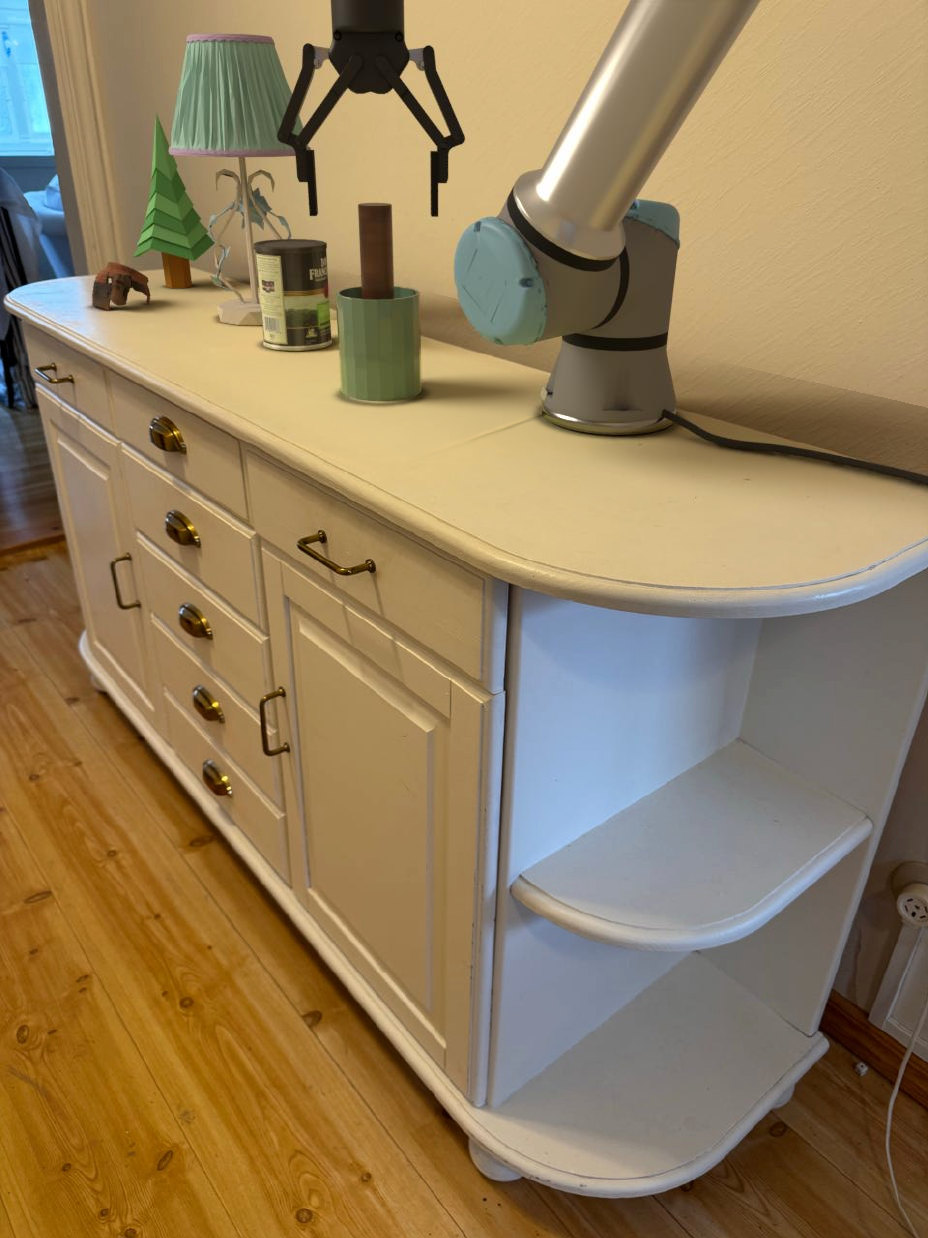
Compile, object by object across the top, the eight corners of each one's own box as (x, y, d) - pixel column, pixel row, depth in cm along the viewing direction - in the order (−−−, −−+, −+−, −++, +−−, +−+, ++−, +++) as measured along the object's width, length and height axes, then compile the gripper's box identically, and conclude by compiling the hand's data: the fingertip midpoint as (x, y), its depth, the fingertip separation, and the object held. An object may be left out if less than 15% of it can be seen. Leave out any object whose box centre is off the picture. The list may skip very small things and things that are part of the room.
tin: (437, 393, 115) (436, 292, 109) (381, 409, 108) (377, 303, 103) (381, 379, 120) (378, 282, 115) (325, 394, 114) (318, 292, 108)
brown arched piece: (85, 306, 165) (99, 261, 164) (139, 327, 169) (153, 284, 169) (89, 299, 154) (104, 251, 154) (146, 322, 158) (160, 275, 158)
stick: (403, 389, 114) (398, 204, 104) (381, 395, 112) (374, 206, 102) (381, 384, 117) (375, 201, 106) (359, 389, 114) (350, 203, 104)
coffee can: (341, 338, 142) (336, 239, 135) (319, 353, 133) (312, 248, 126) (278, 334, 144) (269, 237, 137) (251, 349, 135) (241, 245, 128)
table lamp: (336, 308, 163) (321, 41, 144) (300, 333, 144) (278, 30, 125) (219, 303, 166) (189, 41, 146) (168, 328, 147) (126, 30, 128)
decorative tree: (219, 290, 177) (199, 112, 163) (134, 293, 174) (106, 111, 160) (220, 279, 189) (201, 112, 174) (140, 281, 186) (114, 111, 171)
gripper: (485, -5, 98) (481, 212, 109) (248, -10, 97) (266, 211, 107) (492, -13, 92) (487, 219, 102) (238, -18, 90) (258, 217, 101)
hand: (374, 215), depth 105 cm, fingers open, 13 cm apart
